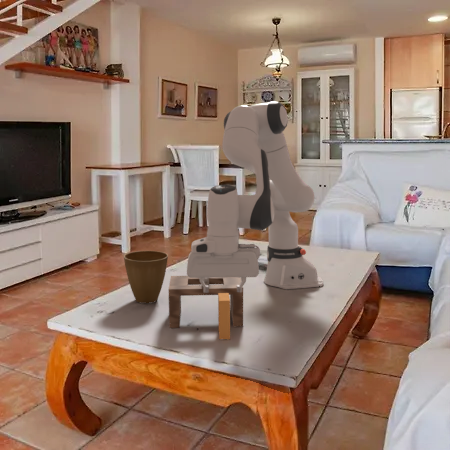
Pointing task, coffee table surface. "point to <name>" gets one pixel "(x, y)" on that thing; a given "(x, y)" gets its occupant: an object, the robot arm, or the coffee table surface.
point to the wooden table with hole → (194, 287)
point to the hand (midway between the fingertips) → (222, 291)
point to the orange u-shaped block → (224, 315)
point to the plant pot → (146, 274)
